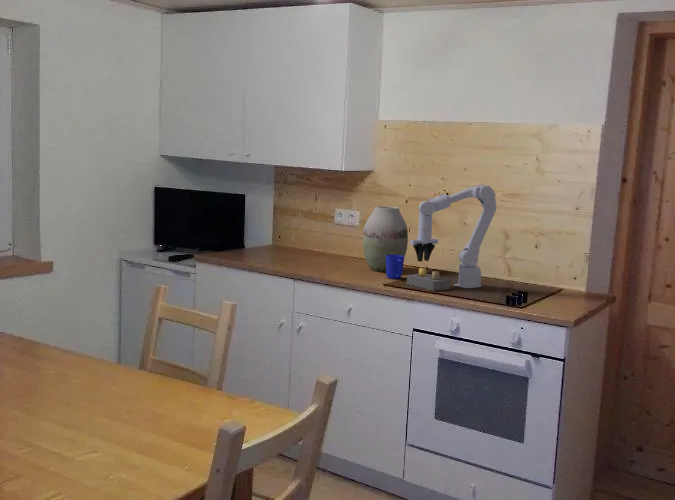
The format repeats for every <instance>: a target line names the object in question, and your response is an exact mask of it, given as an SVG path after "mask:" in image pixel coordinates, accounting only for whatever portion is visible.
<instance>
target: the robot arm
mask: <svg viewBox="0 0 675 500" xmlns="http://www.w3.org/2000/svg"><path fill="white" fill-rule="evenodd" d="M468 198H474V199H477V200H478V201H479V202H480V205H481V206H482V211H481V213H480V215H479V218H478V220H477V223H476V224H475V226H474V229H473V232H472V234H471V236H470V239H469V240H468V242H467V244H466V245H465V246H464V248H463V250H461V251H460V252H459V255H458V258H459V261H460V263H459V266H458V267H459V268H458V281H457V283H454V284H453V286H454V287H455V286H456V287H459V288H464V289H474V288H482V287H483V286H482V285H481V282H482V280H481V279H482V270H481V267H479V266H478V264H477V263H478V261H479V254H480V247H481V245H482V242H483V241H484V238H485V236H486V233H487V231H488V229H489V226H490V225H491V223H492V220H493V218H494V215H495V213H496V210H497V202H496V193H495V191H494V189H493V188H492V187H491V186H489V185H485V184H478V185H473V186H471V187H467V188H464V189H462V190H460V191H458V192H454V193H452V194H450V195H448V194H446V193H445V194H442V193H441V194H439V195H438V196H436V197H433V198H431V197H430V198H428V200H423V201H421V202H420V203H419V206H418V207H417V209H418V211H419V215H418V216H419V217H418V229H417V230H418V231H417V238H416V239H410V241H409V245H410V246H412V247H413V249H414V251H415V254H416V259H417V261H418V262H420V263H421V262H423V261H425V262H429V261H430V258H431V255H432V252H433V251H434V249H435V247H436V244H437V245H438V244H439V239H438V238H432V234H433V232H432V231H433V214H435V213H437V212H440V211H443V210H445V209H447V208H450V207H451V204H453V203H456V202H458V201H461V200H464V199H468ZM434 212H435V213H434Z"/></svg>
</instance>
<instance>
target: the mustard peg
mask: <svg viewBox="0 0 675 500" xmlns="http://www.w3.org/2000/svg"><path fill="white" fill-rule="evenodd" d="M418 274H419V276H420V277H426V274H427V268H425V267H424V268H423V267H420V268H419V269H418Z"/></svg>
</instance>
